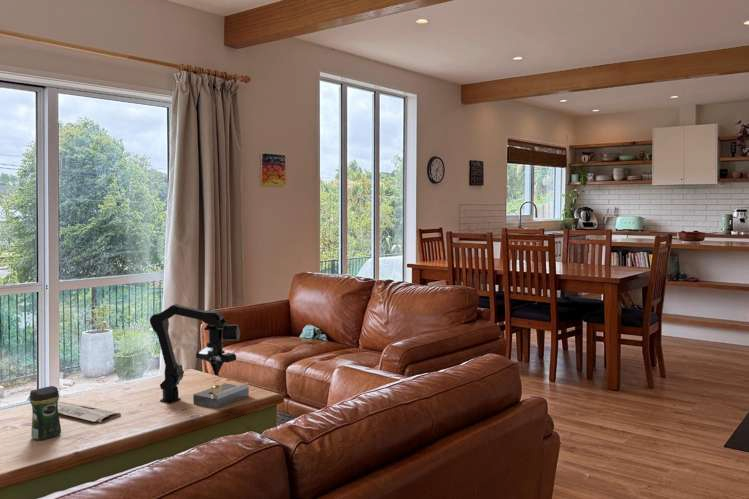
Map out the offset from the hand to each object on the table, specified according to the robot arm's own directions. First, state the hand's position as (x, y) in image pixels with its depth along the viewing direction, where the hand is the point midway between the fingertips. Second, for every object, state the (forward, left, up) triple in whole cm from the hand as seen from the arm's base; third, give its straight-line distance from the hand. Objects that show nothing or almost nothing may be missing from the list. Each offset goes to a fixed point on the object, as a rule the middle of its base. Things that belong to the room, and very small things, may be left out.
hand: (216, 375), depth 281 cm
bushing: (0, 0, -12) cm, 12 cm away
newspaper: (-38, -41, -13) cm, 57 cm away
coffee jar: (-26, -63, -12) cm, 69 cm away
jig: (0, +3, -12) cm, 12 cm away
